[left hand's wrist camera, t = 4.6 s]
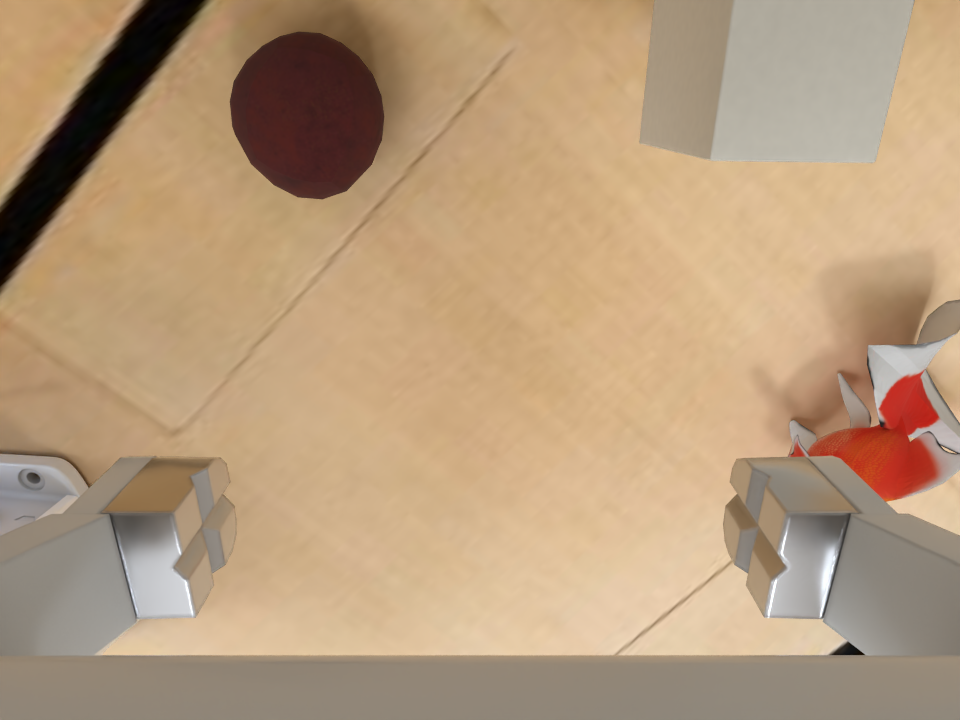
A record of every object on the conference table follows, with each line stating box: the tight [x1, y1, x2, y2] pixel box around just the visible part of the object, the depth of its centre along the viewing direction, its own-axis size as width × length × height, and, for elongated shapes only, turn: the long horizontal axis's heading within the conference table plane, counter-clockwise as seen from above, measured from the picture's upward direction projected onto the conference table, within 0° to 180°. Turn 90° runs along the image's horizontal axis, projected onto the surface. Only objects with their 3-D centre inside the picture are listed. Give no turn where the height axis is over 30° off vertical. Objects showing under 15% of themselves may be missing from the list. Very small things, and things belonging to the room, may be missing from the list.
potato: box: [230, 32, 384, 199], centre depth 31 cm, size 7×8×7 cm
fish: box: [788, 300, 960, 502], centre depth 38 cm, size 11×16×10 cm
